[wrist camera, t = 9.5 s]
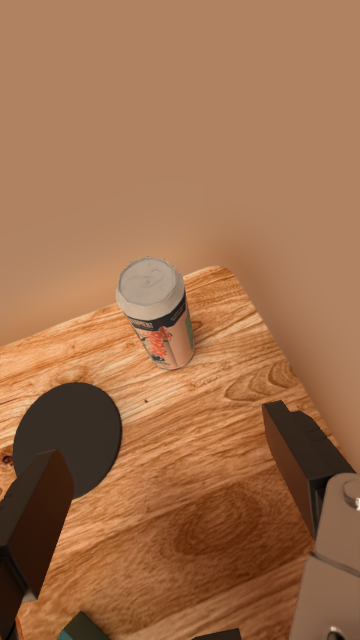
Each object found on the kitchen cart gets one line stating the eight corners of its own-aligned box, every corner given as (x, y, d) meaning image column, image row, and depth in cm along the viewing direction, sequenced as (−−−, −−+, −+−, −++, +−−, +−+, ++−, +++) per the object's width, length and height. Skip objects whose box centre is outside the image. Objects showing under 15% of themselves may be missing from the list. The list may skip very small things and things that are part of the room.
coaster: (142, 415, 26) (141, 414, 26) (75, 528, 23) (71, 530, 22) (64, 366, 30) (61, 365, 29) (-6, 459, 26) (-11, 459, 26)
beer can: (140, 345, 30) (97, 277, 19) (177, 319, 31) (155, 240, 20) (166, 380, 28) (135, 326, 17) (205, 351, 29) (197, 283, 18)
